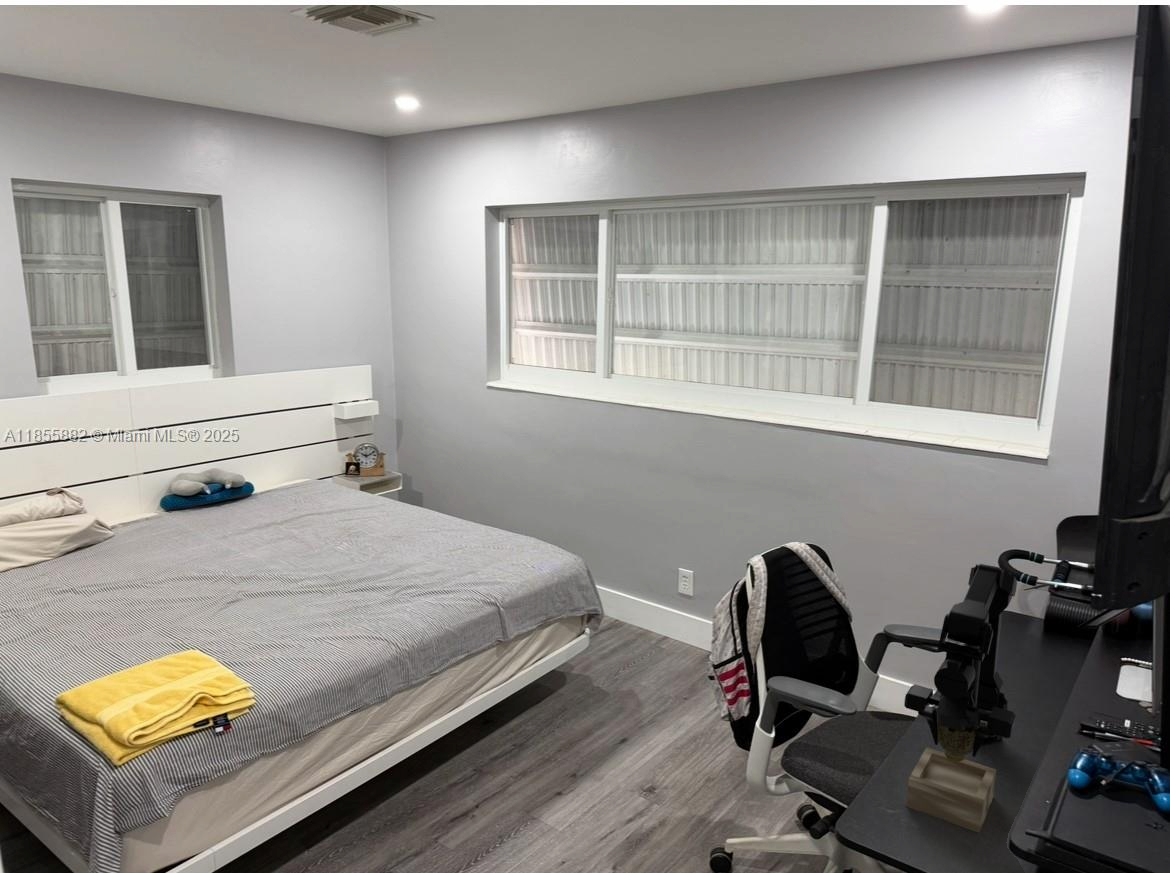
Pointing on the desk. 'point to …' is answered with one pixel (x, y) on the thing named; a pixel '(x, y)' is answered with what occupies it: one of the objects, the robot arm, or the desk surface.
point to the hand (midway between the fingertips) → (955, 750)
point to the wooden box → (951, 789)
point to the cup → (957, 741)
